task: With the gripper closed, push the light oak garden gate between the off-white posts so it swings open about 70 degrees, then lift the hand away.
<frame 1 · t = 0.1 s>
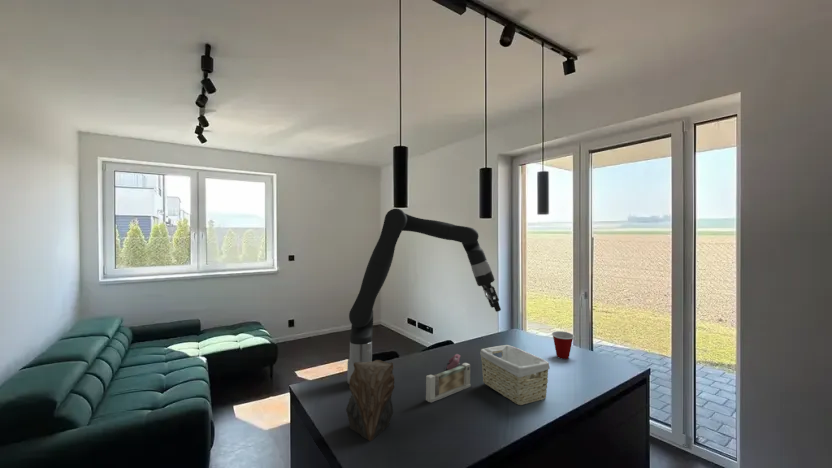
hand: (495, 308, 144), 31 cm above the kitchen island, tool tilted 20°, fingers open, 8 cm apart
video game controller: (453, 367, 162), on the kitchen island
storage basket: (513, 392, 136), on the kitchen island
owl: (369, 429, 108), on the kitchen island
gate posts: (435, 398, 130), on the kitchen island
plastic cup: (562, 357, 177), on the kitchen island
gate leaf: (449, 380, 134), point 5 cm above the kitchen island, hinge at 0.0°
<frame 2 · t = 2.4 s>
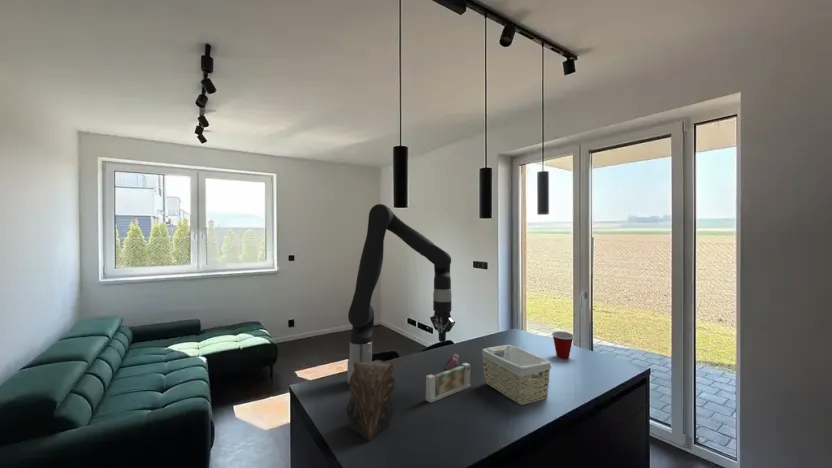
hand: (442, 341, 141), 18 cm above the kitchen island, tool pointing down, fingers closed
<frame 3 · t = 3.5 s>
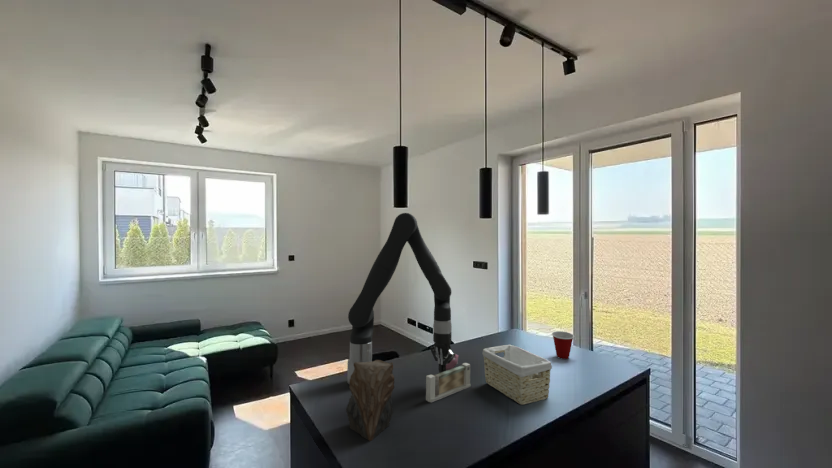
hand: (442, 372, 141), 5 cm above the kitchen island, tool pointing down, fingers closed
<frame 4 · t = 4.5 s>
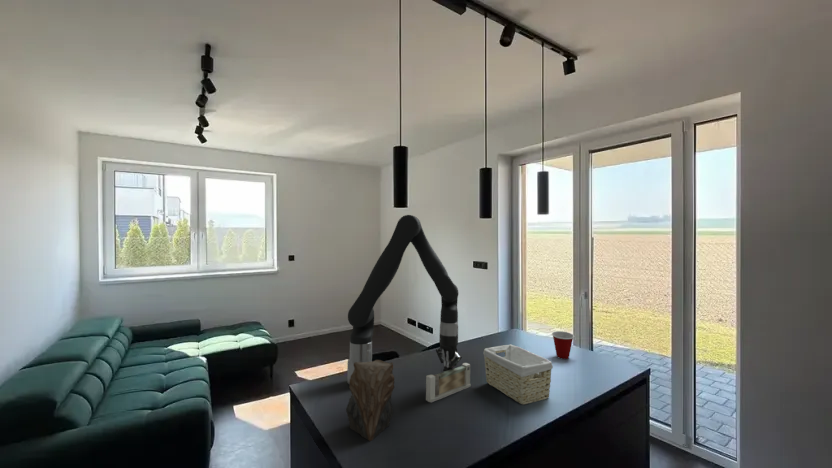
hand: (448, 375, 139), 5 cm above the kitchen island, tool pointing down, fingers closed
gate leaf: (449, 380, 134), point 5 cm above the kitchen island, hinge at -1.5°, touching gripper
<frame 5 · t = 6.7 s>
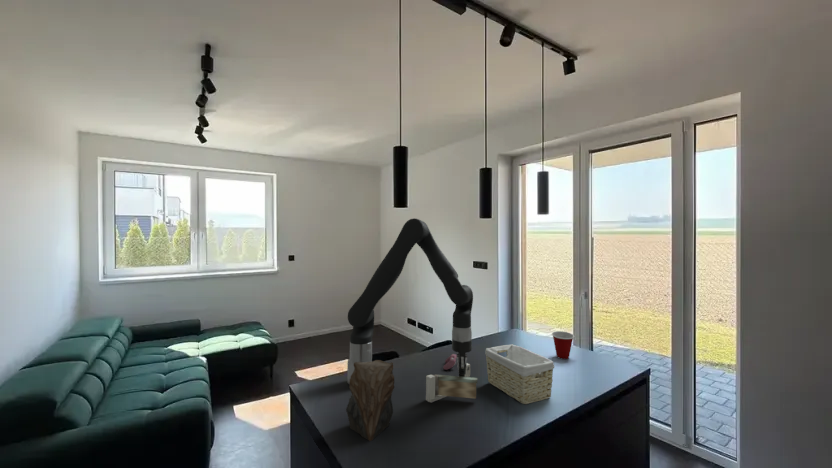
hand: (461, 382, 131), 5 cm above the kitchen island, tool pointing down, fingers closed
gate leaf: (454, 386, 128), point 5 cm above the kitchen island, hinge at -50.7°, touching gripper
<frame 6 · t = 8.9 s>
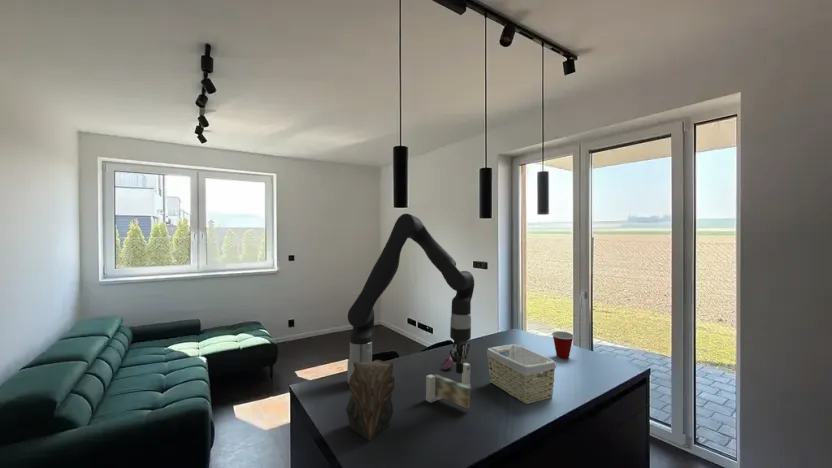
hand: (459, 372, 126), 11 cm above the kitchen island, tool pointing down, fingers closed
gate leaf: (451, 390, 125), point 5 cm above the kitchen island, hinge at -83.9°
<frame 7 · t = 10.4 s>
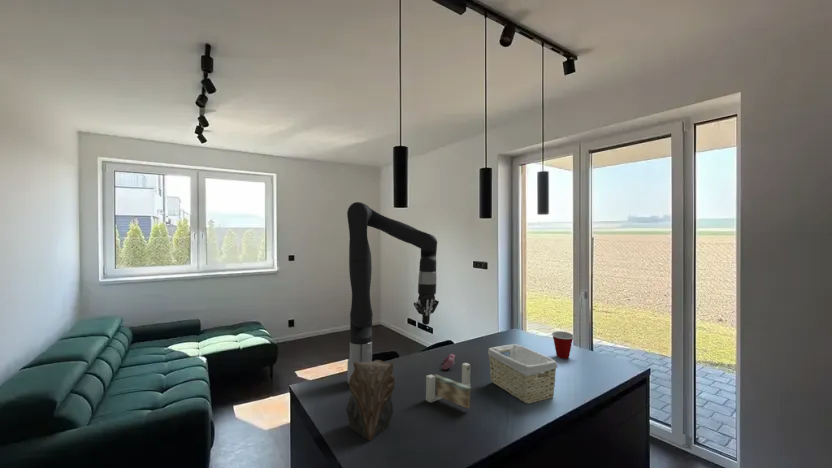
hand: (425, 324, 141), 25 cm above the kitchen island, tool pointing down, fingers closed
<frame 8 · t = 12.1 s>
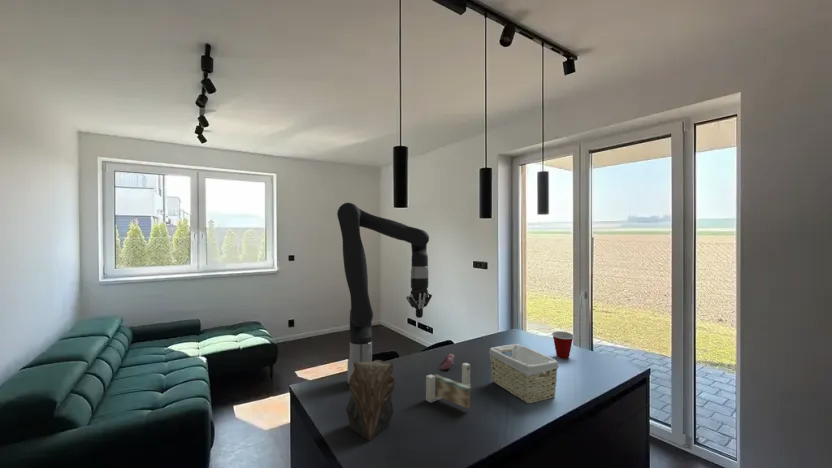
hand: (419, 317, 146), 27 cm above the kitchen island, tool pointing down, fingers closed
at the end: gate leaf at -84° (first picture: +0°) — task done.
